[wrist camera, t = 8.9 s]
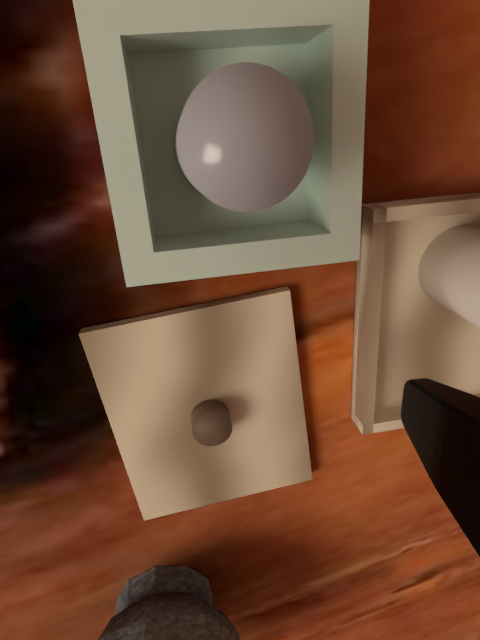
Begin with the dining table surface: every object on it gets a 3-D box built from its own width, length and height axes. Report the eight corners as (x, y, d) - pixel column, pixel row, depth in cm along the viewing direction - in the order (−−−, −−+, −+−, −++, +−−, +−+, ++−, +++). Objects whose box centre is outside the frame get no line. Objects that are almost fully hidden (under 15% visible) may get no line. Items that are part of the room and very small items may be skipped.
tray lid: (286, 286, 21) (296, 298, 19) (309, 472, 26) (319, 494, 24) (81, 328, 20) (73, 345, 18) (144, 512, 25) (142, 538, 23)
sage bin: (331, 8, 17) (370, -23, 14) (329, 241, 20) (359, 260, 17) (90, 19, 16) (70, -12, 12) (133, 263, 19) (126, 287, 16)
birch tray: (553, 184, 21) (581, 187, 20) (509, 392, 26) (530, 407, 24) (358, 204, 20) (373, 209, 18) (351, 417, 25) (362, 434, 23)
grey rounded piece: (273, 95, 17) (320, 67, 12) (268, 198, 18) (308, 212, 13) (173, 89, 16) (176, 57, 11) (175, 197, 18) (180, 211, 13)
